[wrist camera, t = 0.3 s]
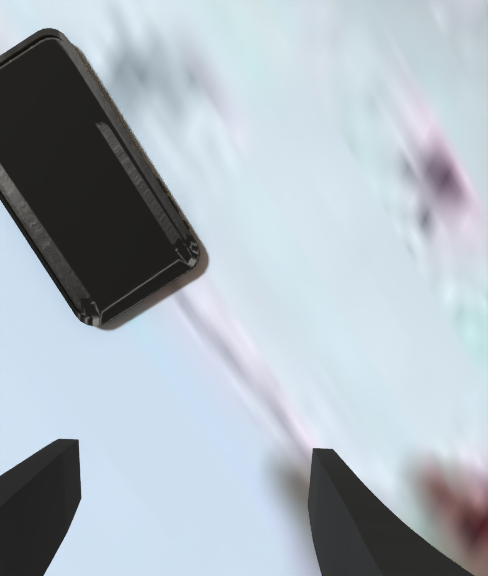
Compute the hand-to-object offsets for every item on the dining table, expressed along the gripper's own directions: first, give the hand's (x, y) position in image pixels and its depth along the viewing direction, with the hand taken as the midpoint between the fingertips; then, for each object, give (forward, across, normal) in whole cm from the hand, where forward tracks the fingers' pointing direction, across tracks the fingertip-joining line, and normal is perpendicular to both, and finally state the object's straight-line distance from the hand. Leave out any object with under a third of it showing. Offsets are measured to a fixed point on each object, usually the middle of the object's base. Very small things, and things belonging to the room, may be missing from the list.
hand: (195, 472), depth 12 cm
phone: (+13, +8, -9) cm, 17 cm away
